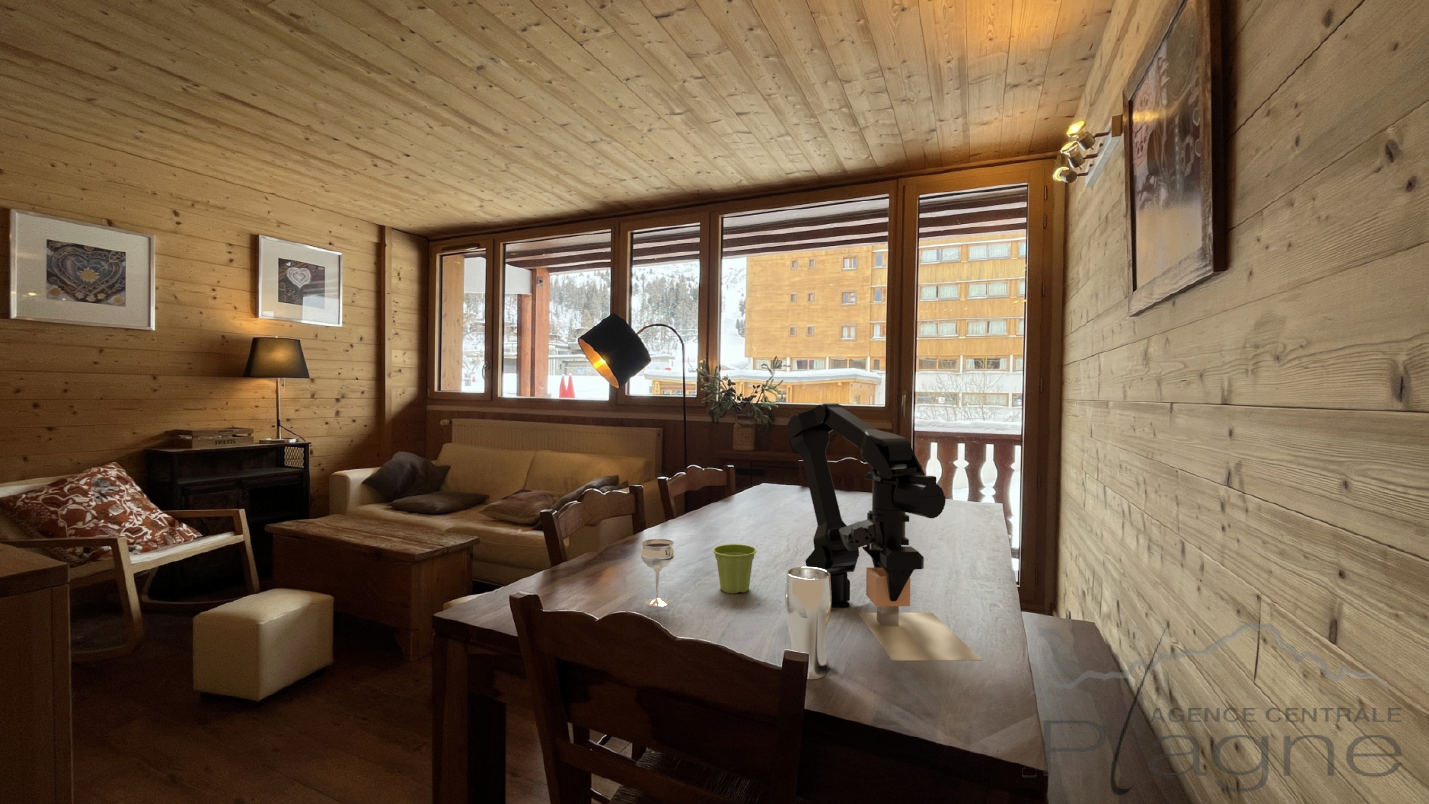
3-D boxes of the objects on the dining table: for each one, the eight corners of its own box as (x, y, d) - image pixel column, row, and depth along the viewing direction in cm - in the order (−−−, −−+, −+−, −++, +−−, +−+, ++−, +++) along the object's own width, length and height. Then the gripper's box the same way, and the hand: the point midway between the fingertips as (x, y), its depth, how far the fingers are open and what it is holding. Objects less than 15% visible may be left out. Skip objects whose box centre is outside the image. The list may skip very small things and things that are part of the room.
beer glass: (780, 661, 96) (781, 566, 95) (823, 659, 96) (824, 565, 96) (789, 682, 89) (790, 580, 88) (836, 680, 89) (837, 579, 89)
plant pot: (705, 593, 128) (705, 552, 127) (722, 580, 136) (722, 542, 136) (747, 599, 124) (747, 557, 124) (762, 585, 133) (762, 546, 132)
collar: (875, 606, 105) (876, 577, 105) (866, 594, 111) (866, 567, 111) (909, 606, 105) (910, 577, 105) (898, 594, 111) (898, 567, 111)
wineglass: (633, 602, 122) (633, 543, 121) (658, 594, 127) (658, 537, 126) (655, 610, 117) (656, 549, 117) (681, 602, 122) (681, 542, 122)
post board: (891, 670, 93) (892, 634, 93) (857, 620, 113) (858, 591, 113) (982, 669, 93) (982, 634, 93) (932, 620, 113) (932, 591, 113)
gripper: (832, 498, 117) (831, 578, 117) (857, 518, 98) (856, 614, 98) (889, 498, 117) (888, 578, 117) (925, 518, 98) (924, 614, 99)
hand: (887, 594), depth 108 cm, fingers closed on collar, 6 cm apart
